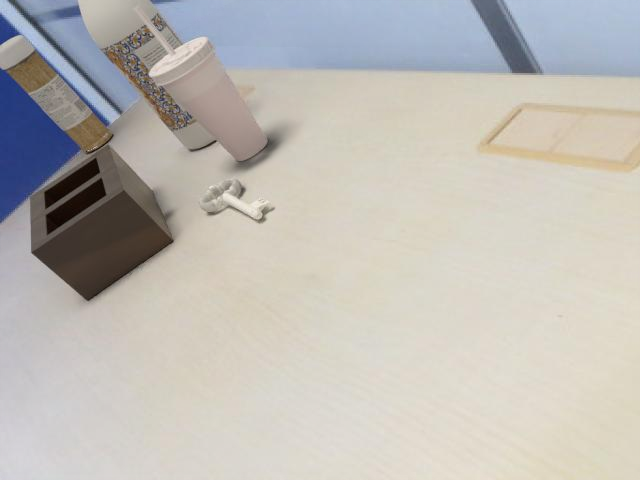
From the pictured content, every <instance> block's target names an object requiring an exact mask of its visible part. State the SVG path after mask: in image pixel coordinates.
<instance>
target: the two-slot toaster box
mask: <svg viewBox="0 0 640 480" xmlns="http://www.w3.org/2000/svg"><path fill="white" fill-rule="evenodd" d="M29 214H30V215H29V216H30V217H29V218H30V254H32V255H33V256H34V257H35V258H36V259H38V260H39V261H40V263H42V264H43V265H44V266H46V267H47V268H48V269H49V270H51V272H53V273H54V274H55V275H56V276H57V277H58V278H60V279H61V280H62V281H63V282H64V283H66V285H68V286H69V287H70V288H71V289H73V290H74V291H75V292H76V293H77V294H78V295H80V296H81V297H82V298H83V299H84V300H85V301H89V300H91V299H92V298H94V297H95V296H97V295H98V294H99V293H100V292H102V291H103V290H105V289H106V288H108V287H109V286H110V285H112V284H114V283H115V282H116V281H118V280H120V279H121V278H122V277H123V276H125V275H126V274H128V273H129V272H131V271H132V270H134V269H136V267H138V266H139V265H140V264H142V263H144V262H145V261H147V260H148V259H150V258H151V257H152V256H154V255H156V254H157V253H158V252H160V251H161V250H162V249H164V248H165V247H167V246H168V245H169V244H171V243H173V241H174V239H173V237H172V234H171V232H170V229H169V227H168V225H167V222H166V220H165V217H164V216H163V213H162V211H161V208H160V206H159V203H158V201H157V199H156V197H155V194H154V192H153V190H152V189H151V187H150V186H149V185H148V184H147V183H146V182H145V181H144V180H143V179H142V178H141V177H140V176H139V174H137V172H136V171H135V170H134V169H133V168H132V167H131V166H130V164H128V162H126V161H125V159H123V157H121V155H119V153H118V152H117V151H116V150H115V149H114V148H113V147H112V146H111V145H110V144H106V145H105V146H103V147H102V148H101V149H98V150H97V151H96V152H94V153H93V154H91V155H89V156H88V157H87V158H85V159H83V160H82V161H81V162H79V163H78V164H76V165H75V166H74V167H72V168H70V169H69V170H68V171H66V172H64V173H63V174H61V175H60V176H59V177H57V178H56V179H54V180H52V181H51V182H49V183H48V184H47V185H45V186H43V187H41V189H39V190H38V191H36V192H35V193H33V194H31V195H30V196H29Z"/></svg>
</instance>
